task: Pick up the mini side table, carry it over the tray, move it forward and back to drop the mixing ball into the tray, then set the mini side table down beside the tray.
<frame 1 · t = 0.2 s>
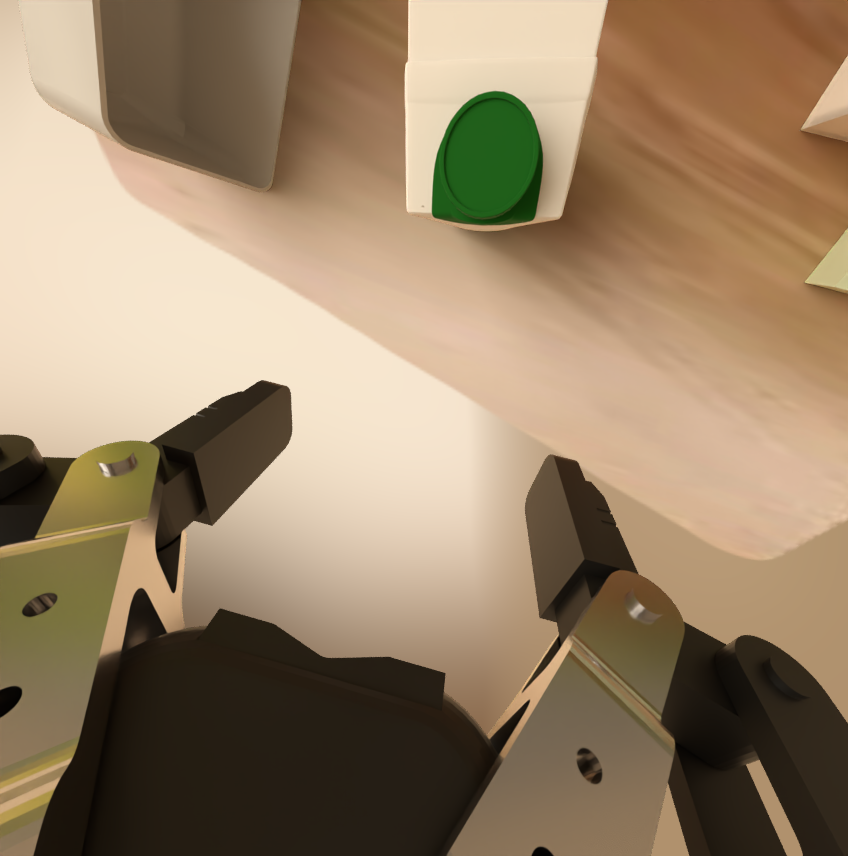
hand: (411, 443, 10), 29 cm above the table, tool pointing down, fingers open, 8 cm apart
milk carton: (490, 173, 29), on the table
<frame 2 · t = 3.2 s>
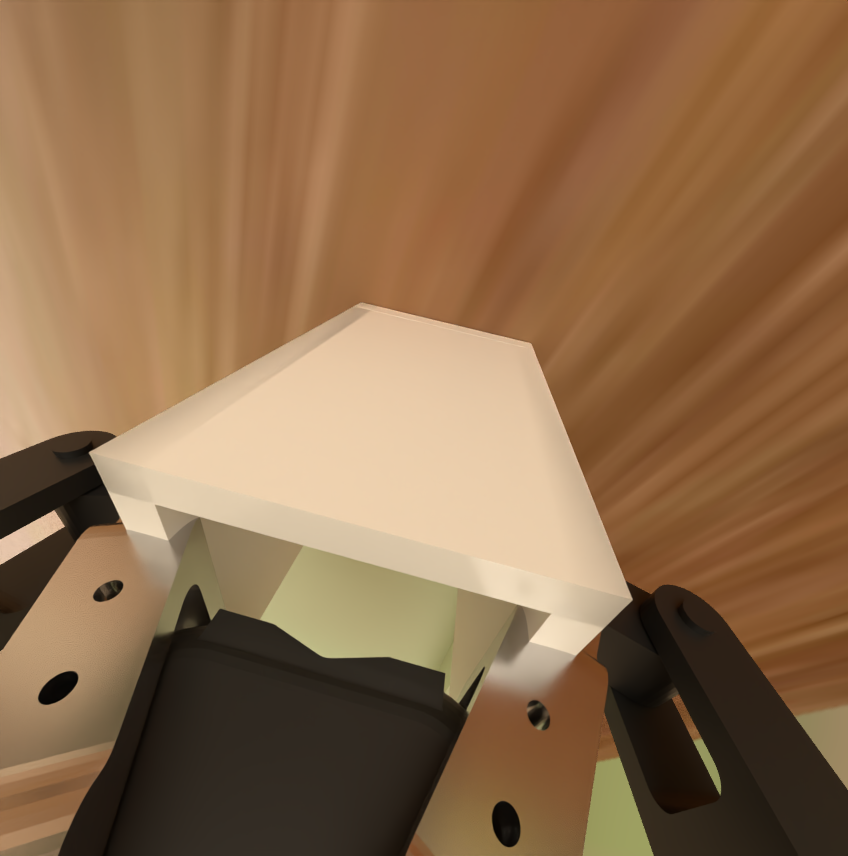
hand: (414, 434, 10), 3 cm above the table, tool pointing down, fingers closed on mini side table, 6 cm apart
tray: (338, 597, 21), on the table
mini side table: (428, 398, 13), on the table, touching gripper, mixing ball
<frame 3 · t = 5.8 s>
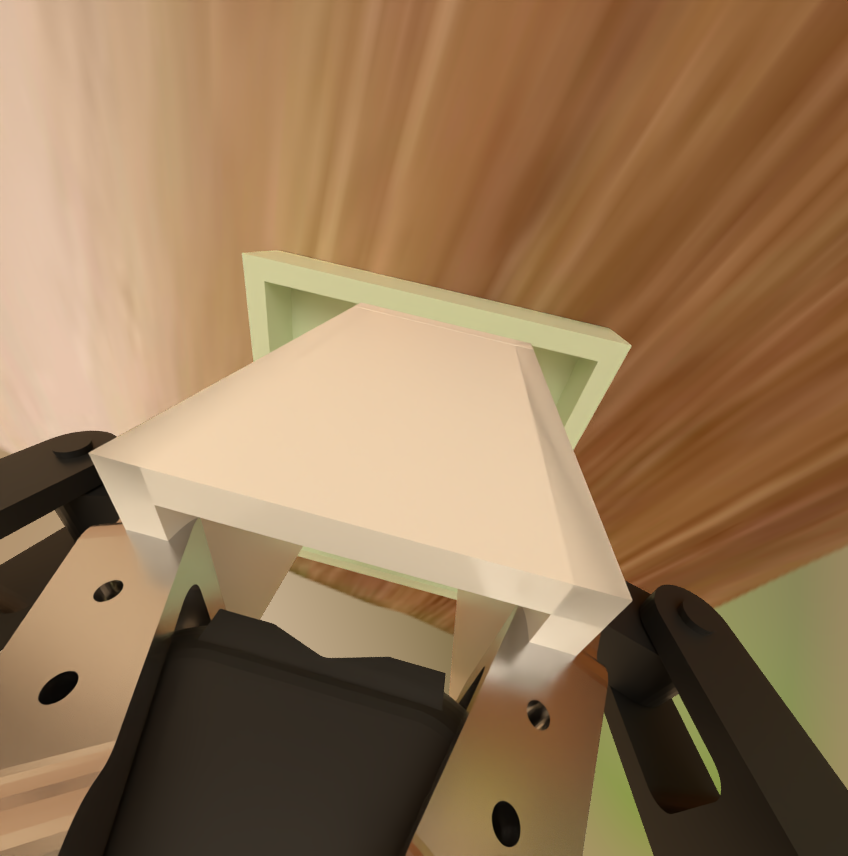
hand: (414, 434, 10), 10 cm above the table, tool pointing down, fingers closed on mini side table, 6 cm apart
tray: (407, 451, 23), on the table
mini side table: (428, 398, 13), point 7 cm above the table, touching gripper, mixing ball
when the fingers open (5 cm above the table, at t = 12.8 s): mini side table drops 2 cm, on the table.
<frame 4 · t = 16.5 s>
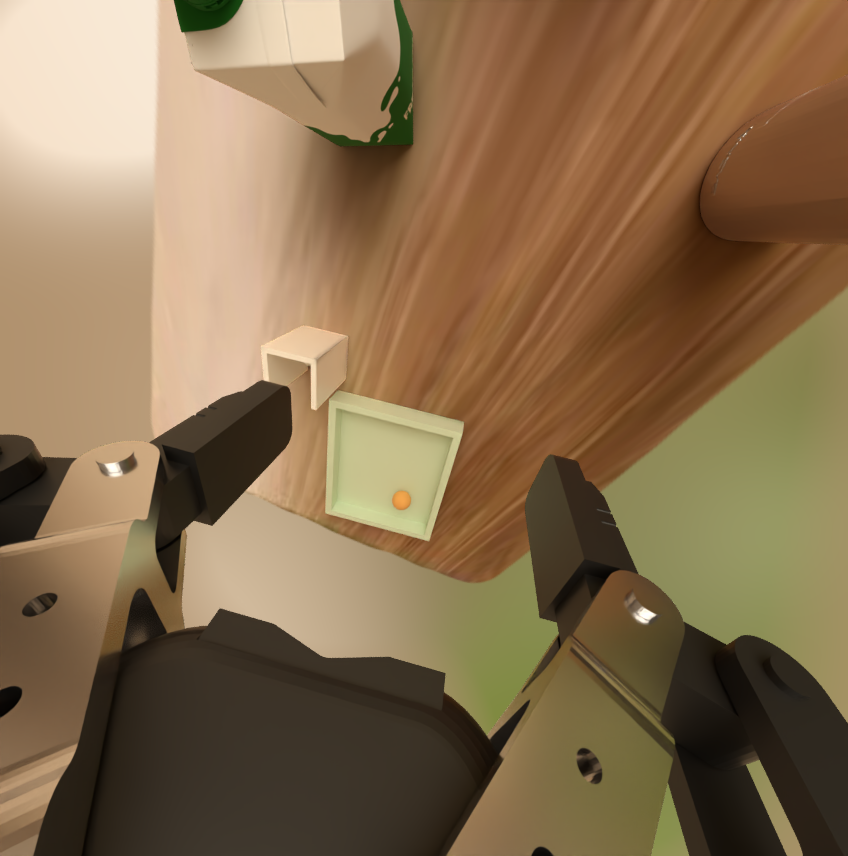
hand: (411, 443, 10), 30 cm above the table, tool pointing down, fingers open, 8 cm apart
tray: (390, 466, 50), on the table
milk carton: (375, 95, 28), on the table
mixing ball: (401, 500, 50), point 2 cm above the table, tilted 113°, touching tray
mini side table: (325, 353, 42), on the table
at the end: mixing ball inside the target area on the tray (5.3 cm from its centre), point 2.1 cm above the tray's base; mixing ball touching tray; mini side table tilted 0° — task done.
